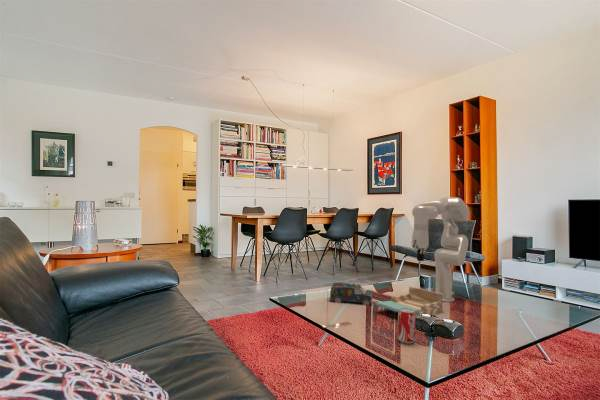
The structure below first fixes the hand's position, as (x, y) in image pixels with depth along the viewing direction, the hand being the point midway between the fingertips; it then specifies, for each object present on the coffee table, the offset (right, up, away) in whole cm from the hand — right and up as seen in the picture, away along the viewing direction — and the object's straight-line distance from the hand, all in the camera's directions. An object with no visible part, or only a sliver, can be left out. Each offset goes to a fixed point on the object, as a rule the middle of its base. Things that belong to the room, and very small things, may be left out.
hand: (420, 260), depth 185 cm
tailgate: (-12, -23, -9) cm, 28 cm away
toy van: (-37, -27, +11) cm, 47 cm away
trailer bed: (-4, -27, -3) cm, 27 cm away
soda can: (-23, -26, -46) cm, 57 cm away
